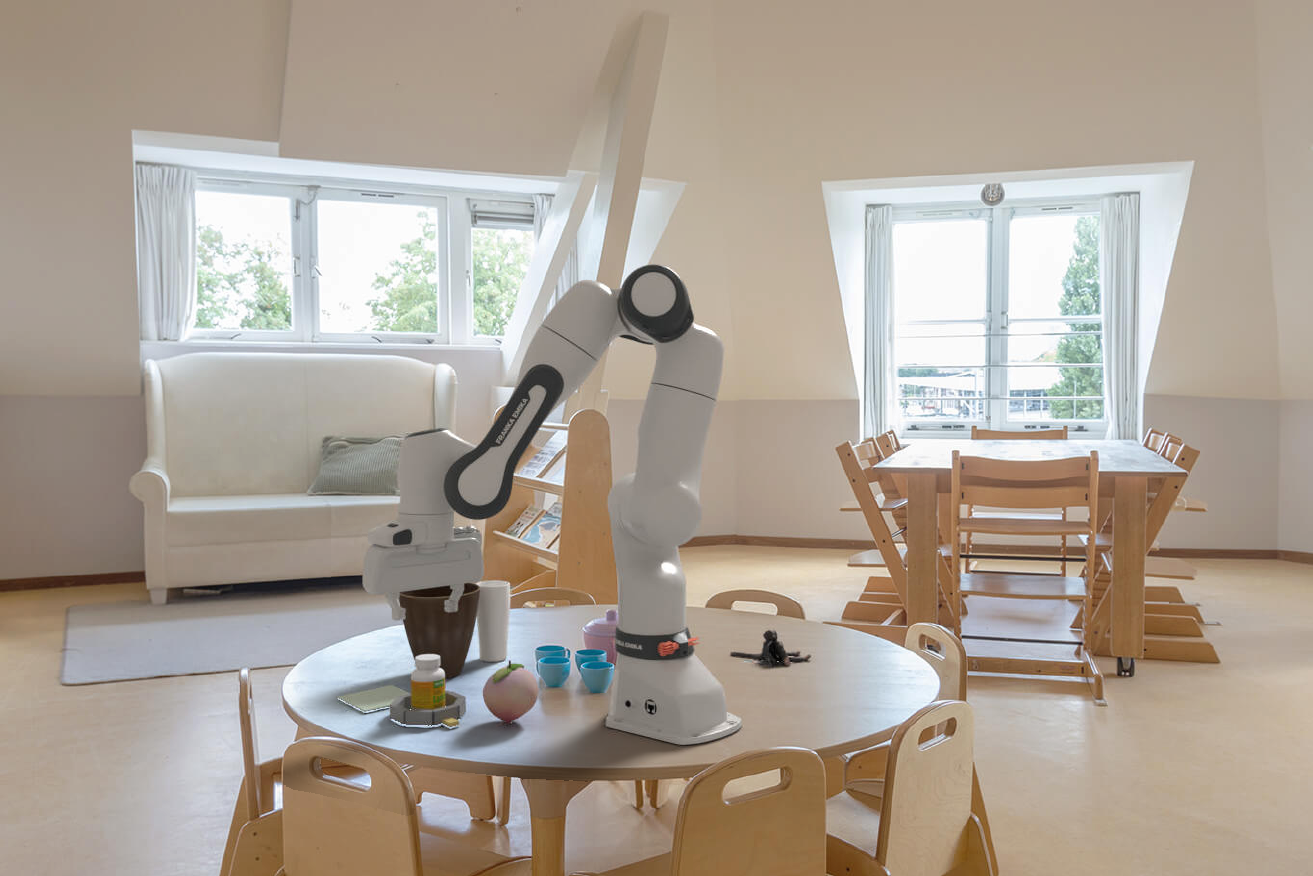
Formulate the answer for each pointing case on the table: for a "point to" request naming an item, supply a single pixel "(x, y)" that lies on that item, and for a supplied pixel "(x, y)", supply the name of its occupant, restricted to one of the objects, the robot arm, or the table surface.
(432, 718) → the collar
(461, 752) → the table surface
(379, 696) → the mat
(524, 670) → the decorative fruit
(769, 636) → the stuffed animal
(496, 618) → the drinking glass
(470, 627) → the plant pot
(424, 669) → the supplement bottle
